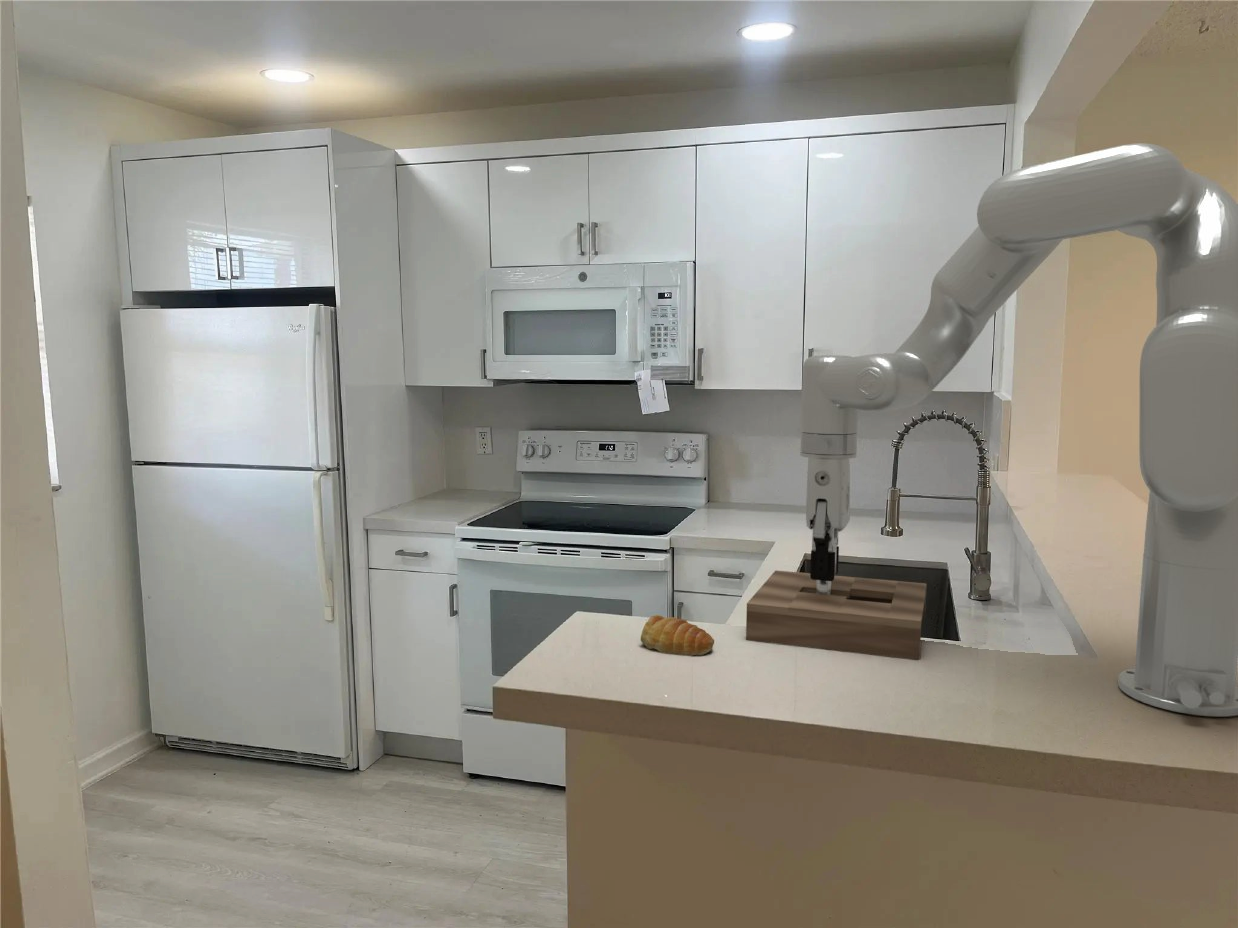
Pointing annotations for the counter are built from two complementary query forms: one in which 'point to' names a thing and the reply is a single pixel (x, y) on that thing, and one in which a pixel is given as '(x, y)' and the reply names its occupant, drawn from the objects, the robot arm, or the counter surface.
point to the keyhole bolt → (825, 586)
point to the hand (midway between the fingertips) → (824, 575)
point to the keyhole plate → (839, 614)
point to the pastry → (675, 636)
